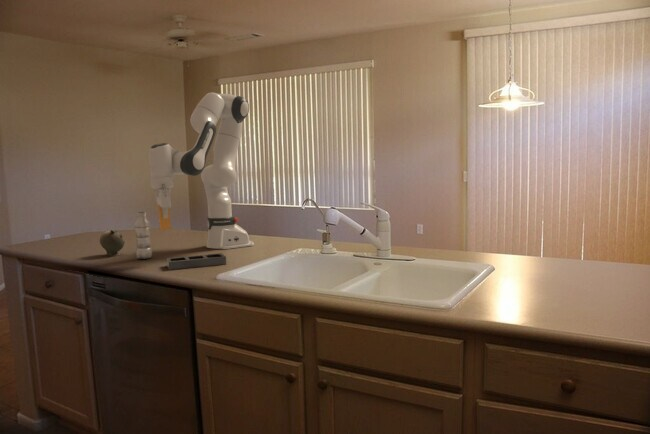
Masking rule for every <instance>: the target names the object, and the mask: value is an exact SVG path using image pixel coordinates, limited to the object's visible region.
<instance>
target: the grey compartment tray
mask: <svg viewBox="0 0 650 434" xmlns="http://www.w3.org/2000/svg"><path fill="white" fill-rule="evenodd" d="M165 259H166V260H165V262H166V268H167V269H168V270H169V271H171V270H172V271H173V270H181V269H192V268H193V269H194V268H202V267H213V266H223V264H224V265H227V256H225V254H223V253H211V254H199V255H198V254H197V255H190V256H189V255H186V256H179V257H178V256H177V257H166V258H165Z"/></svg>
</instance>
